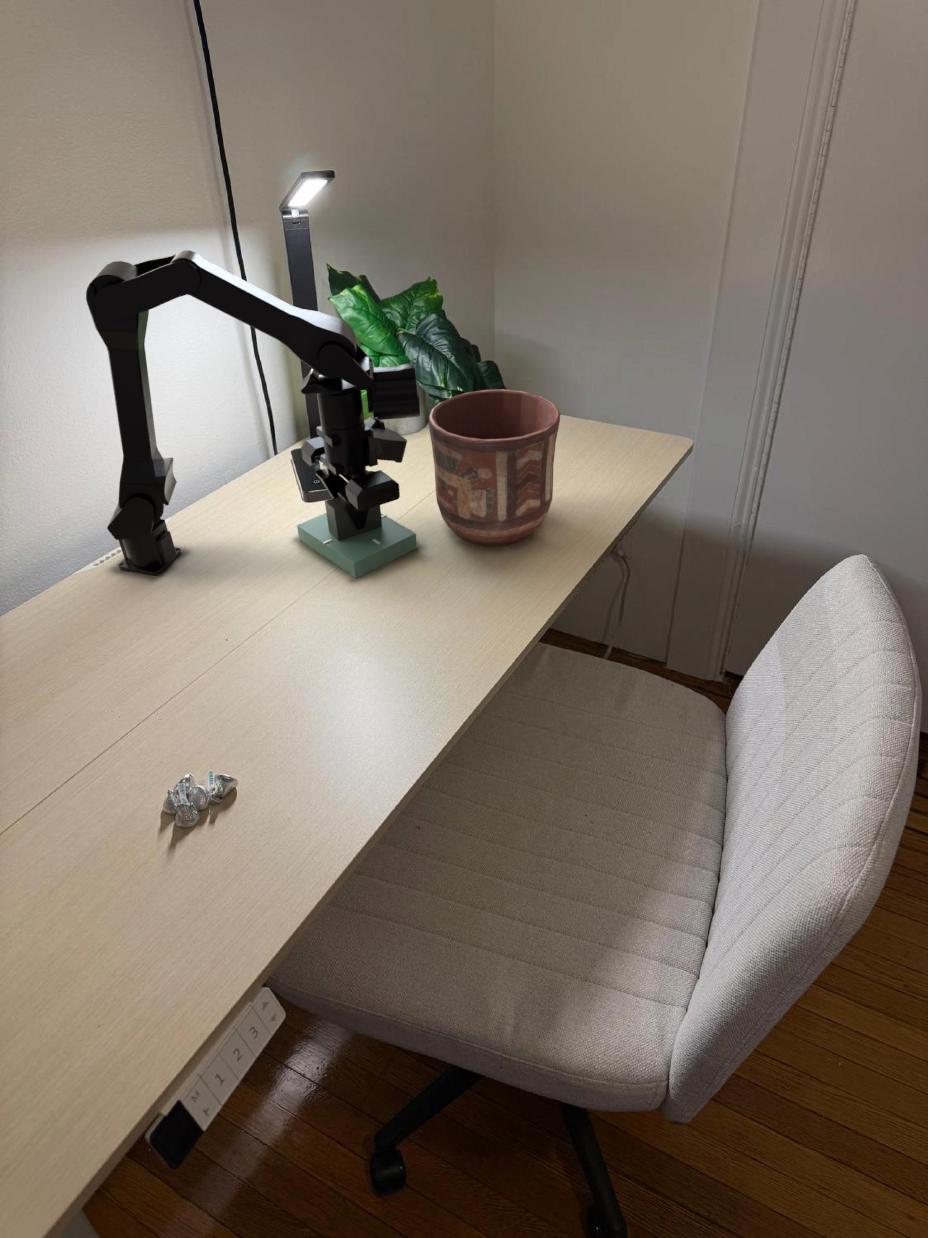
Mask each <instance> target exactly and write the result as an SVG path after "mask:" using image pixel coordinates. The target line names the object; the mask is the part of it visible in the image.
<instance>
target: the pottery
mask: <svg viewBox="0 0 928 1238" xmlns="http://www.w3.org/2000/svg"><path fill="white" fill-rule="evenodd" d="M560 422H561V412H560V410H559V408H558V407H557V405H556V403H554V402H551V401H550V400H548V399H546V398H545V397H543V396H539V395H537V394H534V393H530V392H526V391H521V390H513V389H512V390H511V389H482V390H476V391H469V392H464V393H460V394H458V395H457V394H456V395H455V396H452V397H450V398H447V399H445V400H443V401H441V402H439V403H437V404H436V405H435V406H434V407H432V409H430V412H429V415H428V430H429V436H430V441H431V449H432V457H433V466H434V482H435V484H434V485H435V498H436V503H437V507H438V510H439V512H440V515H441V518H442V519H443V521H444V522H445V524H446V525H447V527H448V528H449V529H451V530H452V531H453V532H454V533H455V534H456V535H457V536H459V537H460V538H461V539H462V540H464V541H465V542H469V543H470V544H474V545H478V546H483V547H484V546H485V547H502V546H508V545H512V544H515V543H517V542H519V541H522V540H524V539H526V537H528V536H529V535H531V534H533V533H534V531H536V530H537V529H538V528H539V527H540V526H541V525H542V524H543V522H544V521H545V519H546V518H547V516H548V514H549V511H550V507H551V505H552V501H553V498H554V497H553V496H554V462H555V453H556V443H557V438H558V433H559V428H560Z"/></svg>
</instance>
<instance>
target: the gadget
mask: <svg viewBox="0 0 928 1238" xmlns="http://www.w3.org/2000/svg"><path fill="white" fill-rule="evenodd" d="M324 506H325V513H327V520H328V527H329V532H330V533H331V534H332V535H333V536H334V537H335V538H336V539H337V540H338V541H340V540H343V539H346V538H349V537H352V536H355V535H358V534H361V533H364V532H367V531H370V530H373V529H376V528H379V527H382V520H381V513H382V511H381V505H379V506H376V507H373V508H370V509H369V512H368V515H367V519H366V523H365V527H364V528H363V529H360V530H358V529H357V528H356V527H355V525H354V523H353V522H352V520H351V518H350V516H349V514H348V512H347V510H346V508H345V506H344V505H343V503H342V501H341V499H340V497H336V498H330V499H327V500H324Z"/></svg>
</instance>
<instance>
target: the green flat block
mask: <svg viewBox="0 0 928 1238" xmlns="http://www.w3.org/2000/svg"><path fill="white" fill-rule="evenodd" d="M381 520H382V527H379V528H376V529H373V530H370V531H367V532H364V533H361V534H358V535H355V536H352V537H349V538H346V539H343V540H340V541H338V540H337V539H336V538H335V537H334V536H333V535H332V534H331V533H330V532H329V527H328V520H327V513H326V512H325V513H323V514H320V515H318V516H315V517H313V518H311V519H308V520H306V521H304V522H302V523H299V524H297V525H296V528H297V535H298V540H299V541H300V542H302V543H303V544H305V545H306V546H307V547H309V548H310V549H312V550H314V551H315V552H316V553H318V554H319V555H321V556H322V557H324V558H325V559H327V560H328V561H329V562H331V563H332V564H334V565H336V566H337V567H339V568H340V569H342V570H343V571H344V572H346V573H347V574H349V575H350V576H351V577H353V578H355V579H357V578H359V577H361V576H363V575H365V574H367V573H369V572H372V571H373V570H375V569H377V568H380V567H382V566H383V565H385V564H388V563H390V562H391V561H394V560H396V559H398V558H400V557H401V556H404V555H406V554H408V553H410V552H412V551H414V550H416V549H417V548H418V544H417V533H416V532H414V531H412V530H411V529H409V528H408V527H406V526H404V525H402V524H401V523H399V522H397V521H395V520H394V519H392V518H391V517H388V514H387V513H386V514H384V513H382V512H381Z"/></svg>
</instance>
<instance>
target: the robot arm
mask: <svg viewBox="0 0 928 1238" xmlns="http://www.w3.org/2000/svg"><path fill="white" fill-rule="evenodd" d="M187 295H188V296H191V297H192V298H194V299H195V300H198V301H200V302H202V303H204V304H206V305H208V306H210V307H212V308H214V309H215V310H218V311H220V312H221V313H224V314H226V315H227V316H229V317H231V318H233V319H236V320H238V321H239V322H241V323H243V324H246V325H248V326H249V327H252V328H253V329H255V330H257V331H259V332H261V333H263V334H265V335H267V336H269V337H271V338H274V340H277V341H279V342H280V343H281V344H283V345H284V346H285V347H286V348H288V349H289V350H290V352H292V354H294V355H295V356H296V357H297V358H298V359H299V360H300V362H302V363H304V364H305V365H306V366H308V367H309V368H311V369H310V370H309V372H308V374H307V375H306V376H305V377H304V378H303V379H302V380H301V387H300V393H301V394H302V395H314V394H316V397H317V405H318V412H319V421H320V425H319V426H316V427H315V428H316V429H315V430H316V435H317V437H313V438H310V439H306V440H305V441H304V442H303V444H302V446H301V447H300V449H301V457H302V460H303V461H304V463H306V464H307V465H308V466H309V467H313V466H315V464H316V461H317V462H318V463H319V468H320V469H317V470H316V471H315V475H316V477H318V479H319V480H320V482H321V484H322V485H323V486H324V488H325V489H326V490H327V492H328V494H329V495H330V497H331V499H333V498H336V497H340V499H341V501H342V503H343V505H344V506H345V508H346V510H347V512H348V514H349V516H350V518H351V520H352V522H353V523H354V525H355V527H356V528H357V529H358V530H360V529H363V528H364V527H365V523H366V519H367V515H368V512H369V509H370V508H373V507H376V506H379V505H380V506H382V505H385V504H388V503H391V502H395V501H397V500H399V499H400V497H401V494H400V484H399V483H398V482H397V480H394V479H393V478H392V477H391V476H390V475H388V474H387V473H386V472H384V471H383V470H381V469H379V470H376V471H375V470H368V469H367V467H369V468H372V467H375V466H378V465H379V462H378V461H386V462H387V461H389V462H395V463H398V464H400V463H402V462H403V460H404V457H405V456H404V455H405V452H406V447H407V443H408V440H407V439H406V438H405V437H403V436H402V435H401V434H399V433H398V432H397V431H395V430H391V429H390V428H389V427H385V422H384V421H385V420H399V419H412V418H420V417H421V407H420V396H419V388H418V383H417V377H416V367H415V364H414V363H412V362H411V363H410V362H409V363H403V364H399V365H388V366H387V365H386V366H374V361H373V359H372V358H371V357H370V356H369V355H368V353H367V352H365V350H363V348H362V347H361V345H359V343H358V342H357V337H356V333H355V331H354V329H353V327H352V326H351V324H349V323H348V322H347V321H345V320H344V319H341V318H339V317H336V316H333V315H329V314H327V313H325V312H321V311H317V310H311V309H304V308H301V307H297V306H294V305H292V304H290V303H287V302H286V301H284V300H282V299H281V298H278V297H277V296H274V295H272V294H271V293H269V292H267V291H265V290H263V289H261V288H259V287H257V286H255V285H253V284H251V283H250V282H248V281H246V280H244V279H242V278H240V277H239V276H236V275H235V274H233V273H231V272H229V271H227V270H225V269H223V268H222V267H220V266H218V265H216V264H214V263H212V262H210V261H209V260H206V259H205V258H204V257H202V256H201V255H200V254H199V253H198V252H195V251H193V250H181V251H179V252H177V253H175V254H171V255H167V256H162V257H156V258H151V259H145V260H144V261H140V262H137V263H134V264H132V263H130V262H127V261H123V260H117V261H112V262H110V263H108V264H106V265H105V266H104V267H103V268H102V269H101V270H100V272H98V274H97V275H95V276H94V278H93V279H92V280H91V281H90V283H89V284H88V286H87V288H86V291H85V300H86V304H87V307H88V308H87V309H88V311H89V313H90V316H91V319H92V323H93V324H94V328H95V330H96V332H97V333H98V336H99V338H100V339H101V341H102V343H103V345H104V346H105V348H106V351H107V355H108V362H109V369H110V375H111V381H112V389H113V396H114V403H115V410H116V416H117V422H118V423H117V424H118V429H119V436H120V443H121V450H122V464H121V470H120V477H119V482H118V483H119V484H118V502H117V504H116V507H115V510H114V512H113V514H112V516H111V518H110V520H109V522H108V525H107V526H106V529H107V531H108V532H109V533H110V535H111V536H112V537H113V538H114V539H115V540H116V541H118V543H119V546H120V550H121V552H122V555H123V558H124V559H123V560H121V561H120V562H119V563H118V564H117V566H118V567H117V568H118V569H120V570H125V571H131V572H137V573H142V574H148V575H153V576H156V575H159V574H160V573H161V572H162V571H163V570H164V569H165V568H166V567H167V566H169V565H170V563H172V562H173V561H174V560H175V559H176V558H177V557H178V556H179V555H180V554H181V553H182V548H181V547H175V544H174V541H173V537H172V532H171V531H170V530H168V526H167V523H166V520H165V519H164V518H163V519H162V517H163V515H164V513H165V509H166V507H167V506H169V505H170V503H171V500H172V497H173V494H174V491H175V488H176V485H177V482H178V481H177V479H176V477H175V475H174V458H173V457H163V456H162V454H161V453H160V451H159V449H158V446H157V438H156V429H155V421H154V412H153V403H152V396H151V395H152V394H151V388H150V379H149V371H148V363H147V355H146V345H145V343H146V334H147V327H148V321H149V315H150V310H152V309H154V308H157V307H159V306H161V305H164V304H166V303H168V302H170V301H173V300H175V299H178V298H180V297H181V298H182V297H184V296H187ZM362 391H365V392H366V398H367V399H366V402H367V410H368V413H369V414H370V413H371V414H372V416H370V417H369V418H368V419H367V420H366V422H365V415H364V413H365V412H364V405H363V404H364V403H363V397H362V395H363V394H362ZM383 420H384V421H383ZM316 457H317V458H316Z"/></svg>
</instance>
